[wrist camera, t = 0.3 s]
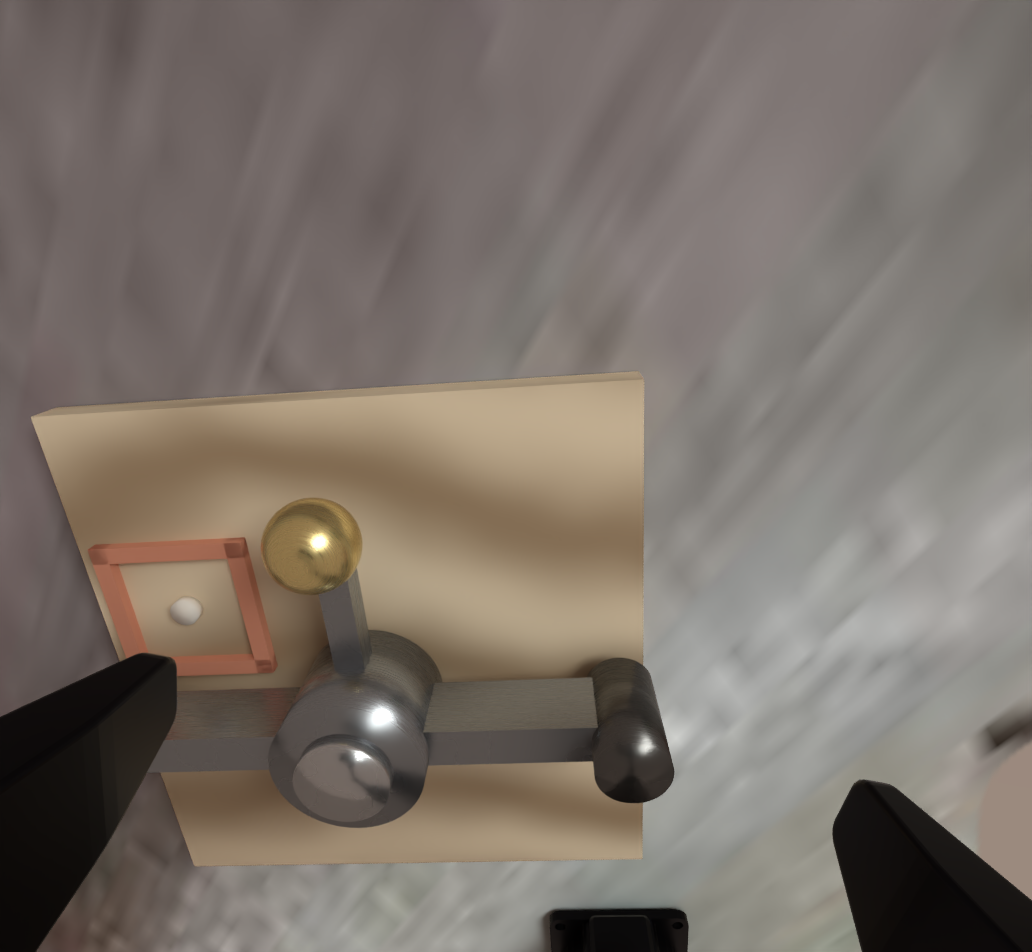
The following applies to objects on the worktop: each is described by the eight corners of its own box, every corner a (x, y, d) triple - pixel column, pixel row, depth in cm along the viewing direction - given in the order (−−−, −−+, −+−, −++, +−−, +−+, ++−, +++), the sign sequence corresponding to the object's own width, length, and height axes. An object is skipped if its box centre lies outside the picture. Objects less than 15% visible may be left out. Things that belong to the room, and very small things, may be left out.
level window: (277, 665, 24) (273, 672, 23) (139, 670, 24) (133, 677, 24) (245, 537, 22) (239, 542, 21) (94, 544, 22) (87, 550, 22)
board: (638, 834, 28) (642, 859, 27) (207, 842, 29) (194, 866, 28) (638, 371, 20) (644, 379, 19) (57, 407, 22) (31, 416, 20)
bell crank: (649, 729, 24) (673, 838, 20) (136, 744, 25) (53, 850, 21) (652, 447, 20) (683, 506, 15) (38, 481, 21) (-92, 545, 17)
